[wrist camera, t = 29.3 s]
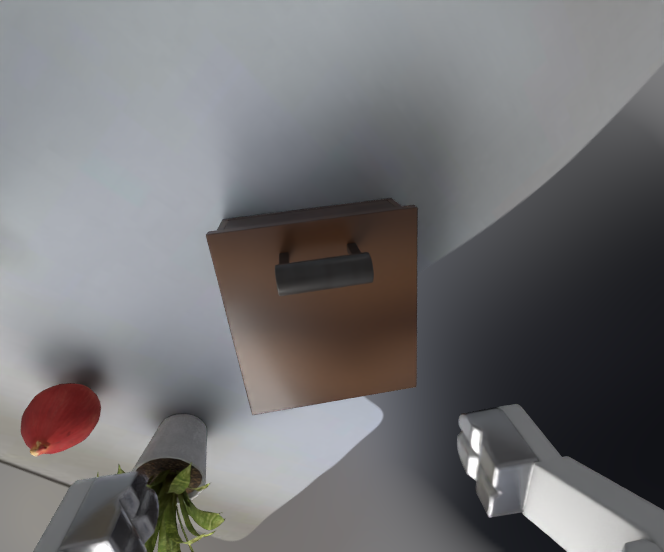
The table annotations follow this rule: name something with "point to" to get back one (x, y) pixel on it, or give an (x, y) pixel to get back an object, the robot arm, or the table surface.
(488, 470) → the robot arm
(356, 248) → the lid
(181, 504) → the house plant
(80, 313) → the table surface
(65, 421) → the onion
